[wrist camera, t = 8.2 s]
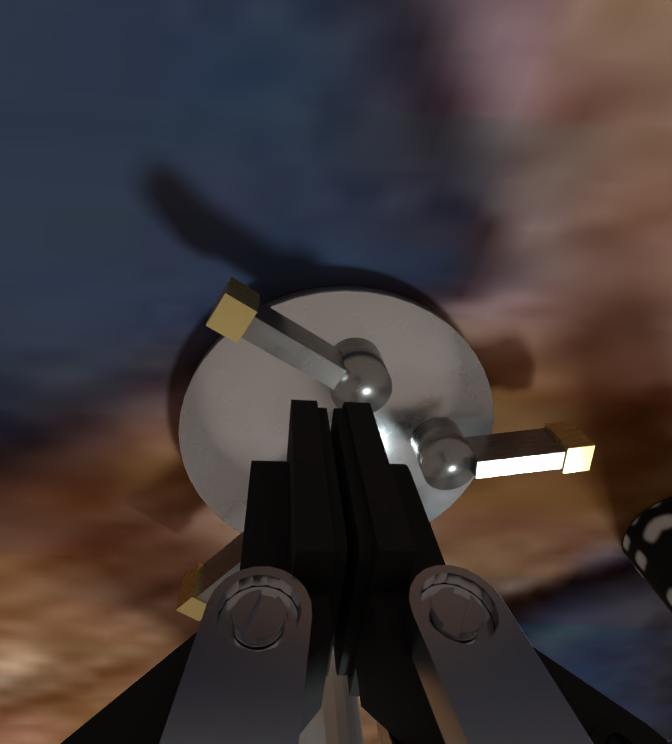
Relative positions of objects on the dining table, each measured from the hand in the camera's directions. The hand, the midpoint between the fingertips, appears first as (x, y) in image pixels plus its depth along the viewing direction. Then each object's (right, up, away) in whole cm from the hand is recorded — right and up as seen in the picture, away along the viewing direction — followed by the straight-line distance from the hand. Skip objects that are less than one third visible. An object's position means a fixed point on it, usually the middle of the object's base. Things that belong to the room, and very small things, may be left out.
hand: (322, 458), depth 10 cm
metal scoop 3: (+10, -2, +19) cm, 22 cm away
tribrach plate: (0, -2, +20) cm, 20 cm away
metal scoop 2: (-1, +4, +15) cm, 16 cm away
